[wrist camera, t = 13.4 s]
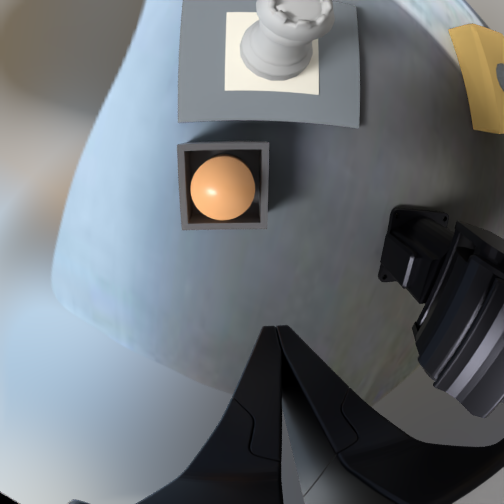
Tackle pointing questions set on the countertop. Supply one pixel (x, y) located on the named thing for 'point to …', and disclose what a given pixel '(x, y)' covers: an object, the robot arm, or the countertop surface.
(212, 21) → the slate board
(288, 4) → the rook chess piece
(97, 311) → the countertop surface
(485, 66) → the rubber stamp
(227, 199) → the button
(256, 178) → the button housing
